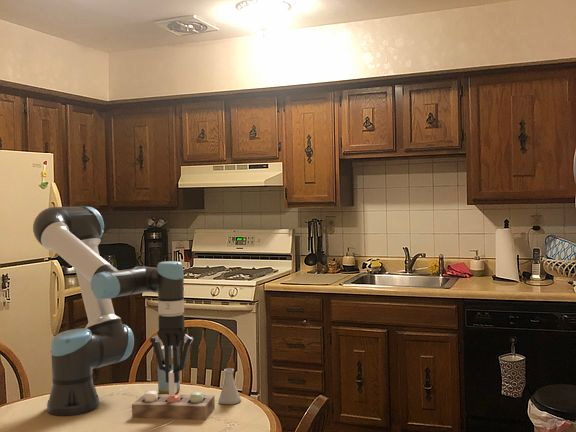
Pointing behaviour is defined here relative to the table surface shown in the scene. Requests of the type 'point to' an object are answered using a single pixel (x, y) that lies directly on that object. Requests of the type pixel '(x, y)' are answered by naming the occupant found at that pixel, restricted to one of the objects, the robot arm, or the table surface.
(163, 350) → the bottle
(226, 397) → the flask
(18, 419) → the table surface
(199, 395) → the button sage
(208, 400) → the console
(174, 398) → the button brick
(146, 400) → the button ivory
